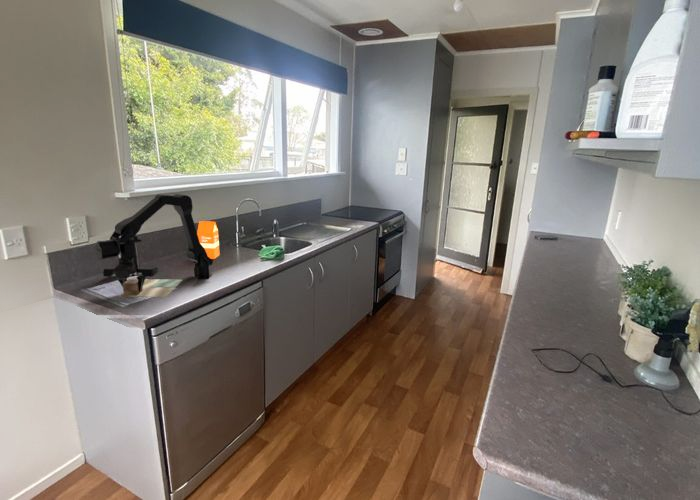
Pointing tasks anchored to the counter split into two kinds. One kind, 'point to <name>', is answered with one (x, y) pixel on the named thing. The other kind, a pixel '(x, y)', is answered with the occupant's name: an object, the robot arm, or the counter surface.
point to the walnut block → (131, 287)
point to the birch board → (156, 288)
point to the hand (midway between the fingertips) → (133, 291)
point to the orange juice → (209, 238)
